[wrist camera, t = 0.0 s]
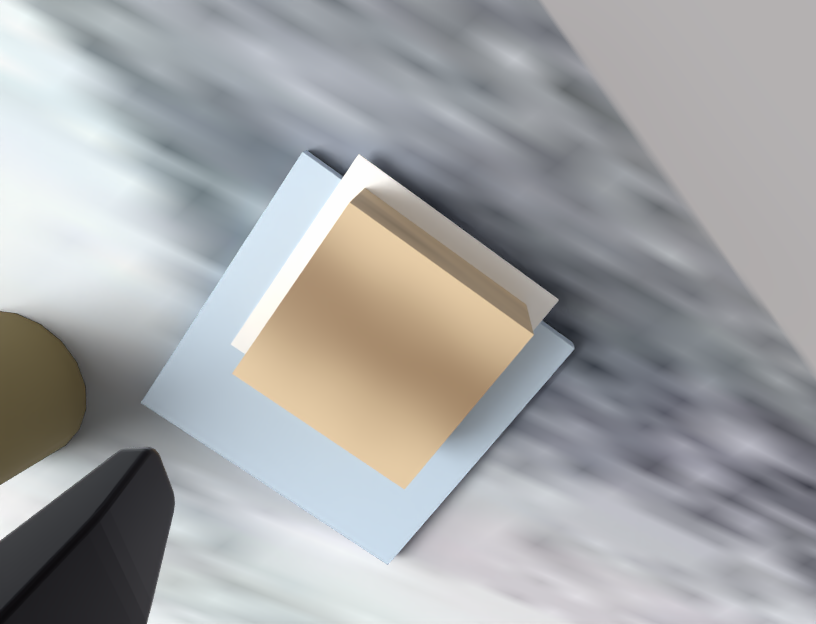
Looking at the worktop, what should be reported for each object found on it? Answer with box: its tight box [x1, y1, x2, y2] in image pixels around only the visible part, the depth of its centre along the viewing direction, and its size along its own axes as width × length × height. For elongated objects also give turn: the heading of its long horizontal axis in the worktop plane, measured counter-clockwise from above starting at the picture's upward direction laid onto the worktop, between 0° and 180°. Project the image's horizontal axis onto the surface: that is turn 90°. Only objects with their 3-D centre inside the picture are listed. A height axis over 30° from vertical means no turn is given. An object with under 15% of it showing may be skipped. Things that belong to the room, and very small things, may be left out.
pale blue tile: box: [141, 150, 575, 565], centre depth 25 cm, size 12×11×1 cm
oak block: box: [232, 188, 534, 490], centre depth 23 cm, size 6×6×3 cm
